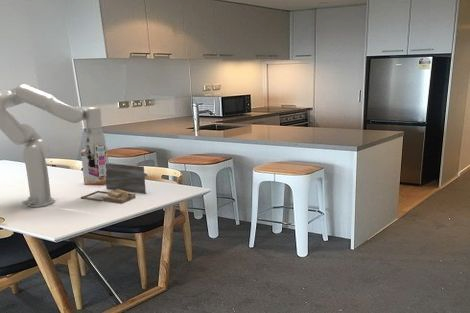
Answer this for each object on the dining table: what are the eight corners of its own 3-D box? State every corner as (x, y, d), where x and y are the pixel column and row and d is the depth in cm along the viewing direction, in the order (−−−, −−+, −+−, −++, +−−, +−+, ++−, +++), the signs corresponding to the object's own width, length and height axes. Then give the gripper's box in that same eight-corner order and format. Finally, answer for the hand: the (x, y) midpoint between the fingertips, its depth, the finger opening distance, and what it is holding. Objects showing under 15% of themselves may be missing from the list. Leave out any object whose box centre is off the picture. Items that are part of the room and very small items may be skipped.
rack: (121, 206, 200) (118, 175, 197) (81, 200, 211) (77, 171, 208) (145, 195, 218) (143, 166, 214) (107, 190, 228) (105, 162, 225)
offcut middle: (118, 202, 203) (118, 198, 203) (106, 200, 208) (105, 196, 207) (129, 198, 209) (128, 194, 208) (116, 196, 213) (116, 192, 213)
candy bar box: (107, 175, 208) (105, 144, 205) (98, 177, 205) (96, 146, 201) (97, 172, 216) (94, 142, 213) (88, 174, 213) (85, 143, 209)
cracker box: (110, 182, 246) (107, 148, 241) (106, 185, 240) (103, 150, 236) (88, 182, 247) (85, 148, 243) (83, 185, 241) (80, 150, 237)
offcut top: (117, 198, 203) (116, 194, 203) (108, 195, 208) (107, 191, 208) (127, 195, 208) (126, 191, 207) (118, 192, 213) (117, 189, 212)
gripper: (87, 133, 197) (90, 169, 200) (111, 129, 212) (114, 162, 216) (75, 133, 200) (78, 168, 203) (100, 128, 215) (103, 161, 219)
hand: (97, 165), depth 209 cm, fingers closed on candy bar box, 6 cm apart
